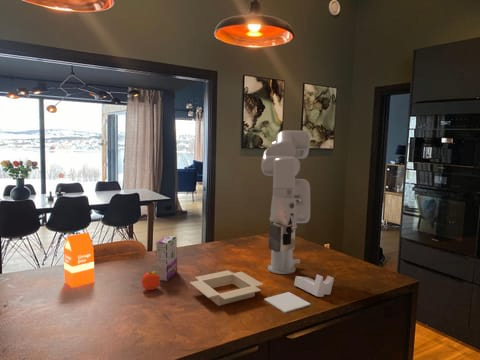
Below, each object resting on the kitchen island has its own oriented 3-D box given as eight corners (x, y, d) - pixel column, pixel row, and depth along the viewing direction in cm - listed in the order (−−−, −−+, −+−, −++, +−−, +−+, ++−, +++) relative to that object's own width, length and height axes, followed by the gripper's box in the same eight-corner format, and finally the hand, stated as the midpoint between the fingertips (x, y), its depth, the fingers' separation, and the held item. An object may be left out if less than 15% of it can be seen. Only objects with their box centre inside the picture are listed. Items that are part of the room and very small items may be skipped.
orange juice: (94, 282, 151) (93, 234, 149) (72, 288, 145) (71, 238, 143) (86, 277, 157) (84, 230, 155) (64, 282, 150) (62, 234, 148)
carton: (236, 277, 159) (236, 268, 159) (269, 298, 139) (269, 287, 139) (185, 288, 146) (185, 278, 146) (213, 312, 127) (214, 301, 126)
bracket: (329, 297, 144) (334, 277, 144) (317, 296, 140) (321, 276, 140) (306, 285, 155) (310, 267, 155) (293, 284, 151) (298, 266, 151)
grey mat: (288, 293, 144) (288, 291, 144) (310, 305, 134) (310, 303, 134) (263, 299, 138) (263, 298, 138) (284, 312, 128) (284, 311, 127)
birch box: (286, 245, 138) (286, 221, 138) (294, 248, 134) (295, 224, 133) (268, 248, 134) (269, 223, 133) (276, 252, 130) (277, 226, 129)
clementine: (156, 283, 151) (156, 266, 150) (165, 288, 146) (165, 271, 145) (138, 289, 145) (138, 271, 145) (147, 294, 140) (147, 276, 140)
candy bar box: (166, 271, 165) (166, 235, 163) (177, 272, 164) (177, 235, 162) (156, 280, 154) (155, 241, 153) (167, 281, 153) (167, 242, 152)
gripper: (307, 195, 127) (305, 247, 129) (277, 188, 141) (276, 235, 143) (290, 196, 123) (288, 250, 125) (261, 190, 137) (260, 238, 139)
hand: (281, 242), depth 134 cm, fingers closed on birch box, 5 cm apart
